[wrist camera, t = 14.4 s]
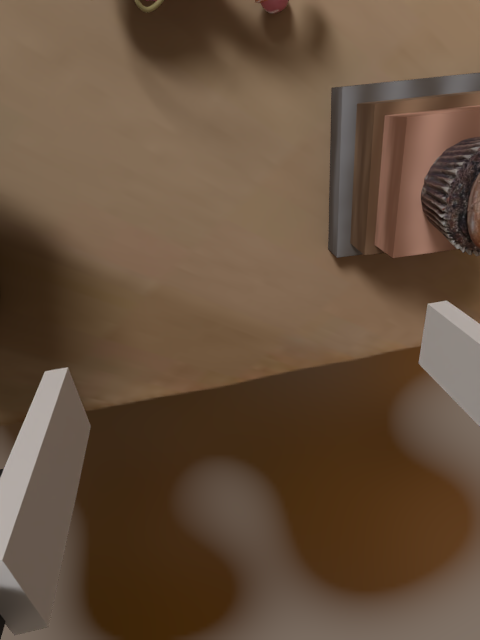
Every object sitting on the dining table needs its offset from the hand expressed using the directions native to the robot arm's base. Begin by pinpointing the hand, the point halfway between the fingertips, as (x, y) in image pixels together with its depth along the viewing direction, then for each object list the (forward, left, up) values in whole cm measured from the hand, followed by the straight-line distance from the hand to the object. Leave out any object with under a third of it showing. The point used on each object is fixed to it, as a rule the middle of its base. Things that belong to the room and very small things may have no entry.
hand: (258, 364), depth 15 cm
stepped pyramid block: (+23, 0, -33) cm, 40 cm away
